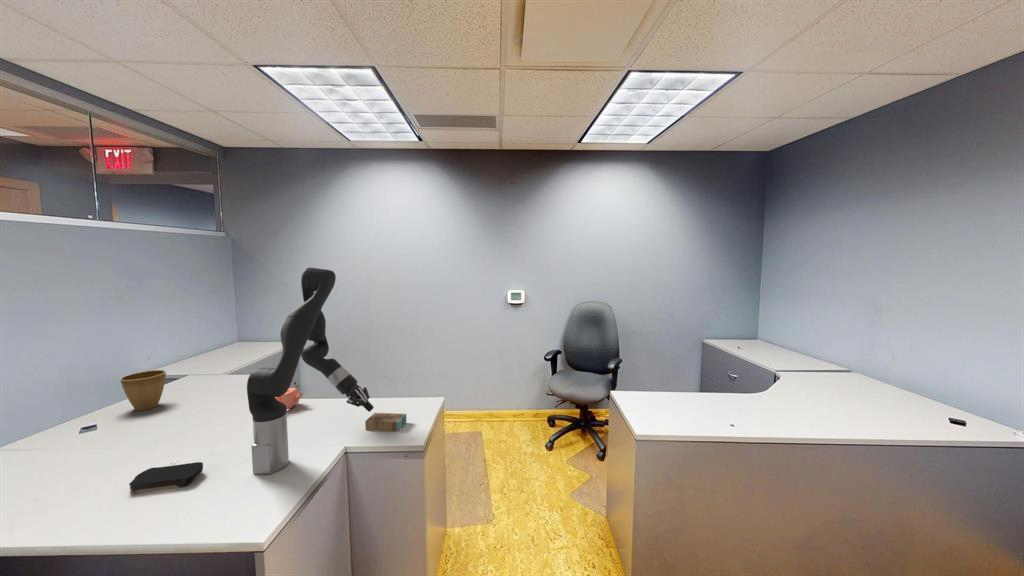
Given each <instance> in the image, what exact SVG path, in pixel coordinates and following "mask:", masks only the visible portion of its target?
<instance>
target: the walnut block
mask: <svg viewBox="0 0 1024 576" xmlns="http://www.w3.org/2000/svg"><path fill="white" fill-rule="evenodd" d="M407 421H408V420H407V413H395V412H394V413H393V412H388V413H387V412H374V413H372V414H371V415H370V417H368V418H367V419H366V420H365V422H364V424H365V431H370V430H380V431H379V432H397V431H399V430H400V429H401V428H403V427H404V426H405V425H406V424H407V423H406V422H407ZM405 423H406V424H405ZM404 424H405V425H404ZM403 425H404V426H403ZM401 430H402V429H401ZM401 430H400V431H401ZM400 431H399V432H400Z"/></svg>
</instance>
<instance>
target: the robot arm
mask: <svg viewBox="0 0 1024 576" xmlns="http://www.w3.org/2000/svg"><path fill="white" fill-rule="evenodd" d="M301 273H302V274H301V278H300V279H301V280H300V283H301V291H302V298H303V299H302V300H303V303H301V304H300V305H298V306H297V307H295V308H294V309H293V310H292V311H290V312H289V314H288V315H287V317H286V318H285V321H284V323H283V325H282V326H281V329H280V341H281V342H280V343H281V347H282V353H281V354H282V355H281V357H280V360H279V361H278V364H277V366H276V367H258V368H256V369H254V370H253V371H252V372H251V373H250V375H248V379H247V382H246V393H247V401H248V402H247V403H248V409H249V413H250V414H251V416H252V429H253V432H252V433H253V444H251V459H252V460H251V463H252V464H251V465H252V474H255V475H256V474H257V475H272V474H273V473H275V472H278V471H281V470H282V469H283V468H286V467H287V465H289V462H290V458H289V436H288V433H289V432H288V416H287V415H288V413H287V412H288V411H287V410H286V405H285V404H284V403H282V402H280V401H278V400H277V399H276V398H275V397H280V396H282V395H284V394H285V393H286V392H287V390H288V389H289V388H291V384H292V382H293V380H294V377H295V373H296V370H297V367H298V365H299V361H300V359H302V361H303V362H304V363H305V364H306V365H308V366H309V367H311V368H312V369H315V370H316V371H318V372H320V373H321V374H322V375H323V376H324V377H325V378H327V380H328V381H329V382H330V384H331V385H332V386H333V388H335V389H336V390H337V391H338V392H339V393H340V394H341V395H343V396H344V395H345V396H346V397H347V400H346V403H347V404H349V405H352V406H355V407H358V408H359V407H363V408H364V409H365V410H366V411H368V413H369V412H371V411H372V410H373V409H374V408H375V407H374V405H373V404H372V403H371V402H370V401H369V399H370V394H369V392H368V387H365V386H364V387H363V388H362V387H361V386H360V385H358V380H357V379H356V378H355V377H354V376H353V375H352V374H351V373H350V372H349V371H348V370H347V369H346V368H345V367H343V366H342V365H341V364H340V363H339V362H338V361H337V360H336V359H335V358H332V357H331V358H326V356H327V355H328V354H329V351H330V348H329V343H328V338H327V336H326V327H327V326H326V325H327V323H326V322H327V321H326V317H325V315H324V312H323V310H322V308H323V307H324V305H325V303H326V302H327V300H328V298H329V296H330V294H331V293H332V291H333V289H334V287H335V284H336V279H337V278H336V276H337V275H336V273H335V272H334V271H333V270H330V269H325V268H317V267H306V268H305V269H304V270H303V272H301ZM308 341H310V342H313V344H311V345H308V346H306V344H307V342H308ZM305 346H306V347H305Z"/></svg>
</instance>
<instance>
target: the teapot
mask: <svg viewBox="0 0 1024 576" xmlns="http://www.w3.org/2000/svg"><path fill="white" fill-rule="evenodd" d="M303 395H304V394H303V392H299V391H298V389H297V388H296V387H289V389H288V390H287V392H286V393H285V394H284V395H282V396H280V397H275V398H276V399H277V400H278V401H280V402H282V403H284V404H285V405H286V410H287V409H290V410H291V409H292V408H294V407H293V406H295V405H296V406H297V405H298V404H299V402H300V398H301V397H303Z"/></svg>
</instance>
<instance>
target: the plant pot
mask: <svg viewBox="0 0 1024 576" xmlns="http://www.w3.org/2000/svg"><path fill="white" fill-rule="evenodd" d="M166 375H167V370H165V369H164V370H163V369H153V370H145V371H139V372H135V373H131V374H128V375H124V376H123V377H120V379H119V380H120V383H121V386H122V389H123V391H124V395H125V396H126V398H127V399H128V401H129V403H130V404H131V406H132V407H133V409H134V410H135V411H147V410H151V409H154V408H156V407H157V406H159V403H160V401H161V398H162V394H163V392H164V387H165V383H166V378H167V377H166Z"/></svg>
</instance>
